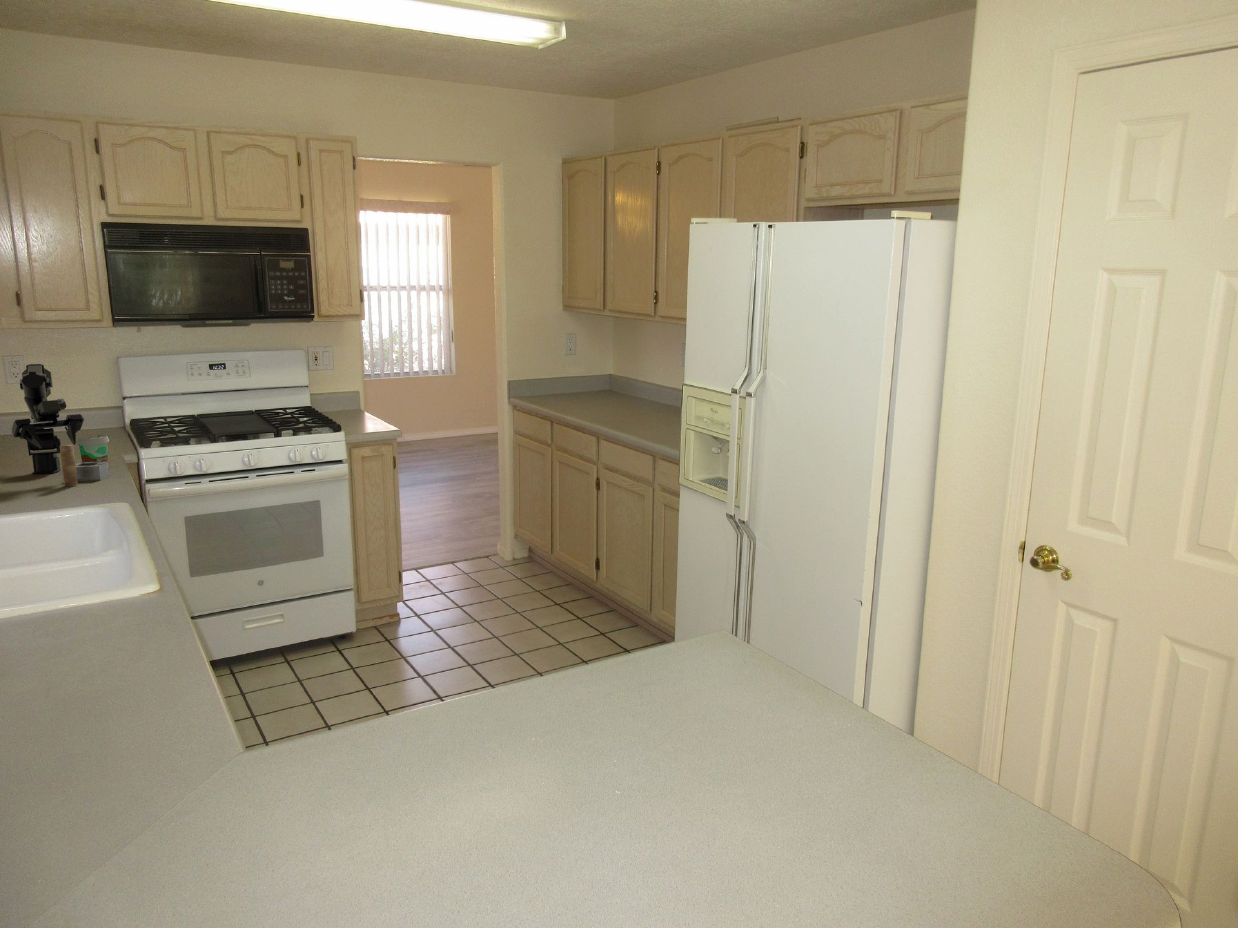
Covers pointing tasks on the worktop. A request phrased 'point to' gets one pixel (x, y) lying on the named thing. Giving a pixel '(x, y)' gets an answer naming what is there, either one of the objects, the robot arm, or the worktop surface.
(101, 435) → the food container
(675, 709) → the worktop surface
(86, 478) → the block
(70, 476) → the dowel
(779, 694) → the worktop surface
